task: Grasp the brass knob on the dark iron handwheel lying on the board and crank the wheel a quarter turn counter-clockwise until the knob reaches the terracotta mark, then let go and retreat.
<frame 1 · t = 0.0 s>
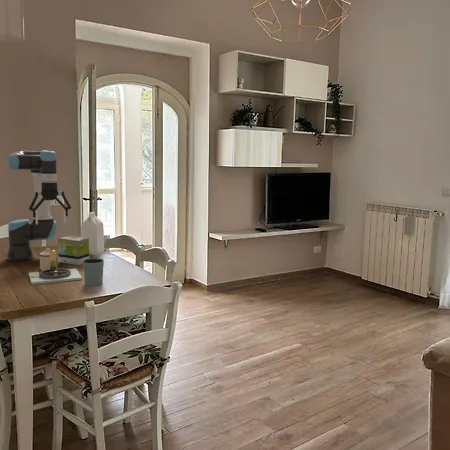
hand: (50, 223, 242), 28 cm above the table, fingers open, 13 cm apart
handwheel: (54, 263, 243), point 7 cm above the table, hinge at 0.0°
milk: (92, 252, 303), on the table
tea box: (74, 262, 277), on the table
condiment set: (49, 268, 261), on the table
grey blue cup: (93, 284, 233), on the table
board: (55, 277, 244), on the table
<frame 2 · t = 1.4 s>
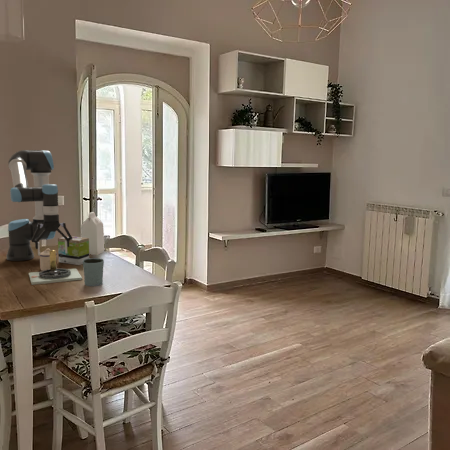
hand: (52, 254, 248), 11 cm above the table, fingers open, 13 cm apart
nothing on the table moved.
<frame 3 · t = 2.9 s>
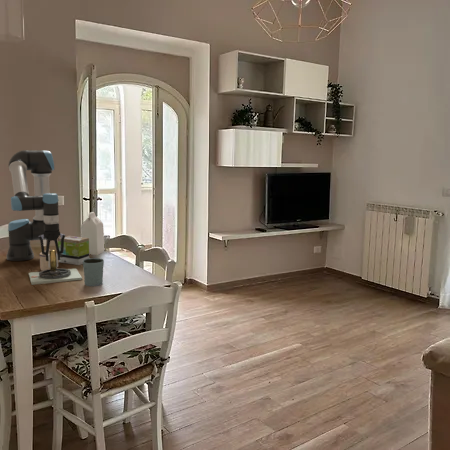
hand: (53, 266, 249), 4 cm above the table, fingers closed on handwheel, 3 cm apart
handwheel: (54, 263, 243), point 7 cm above the table, hinge at 0.0°, touching gripper
everything else where it was.
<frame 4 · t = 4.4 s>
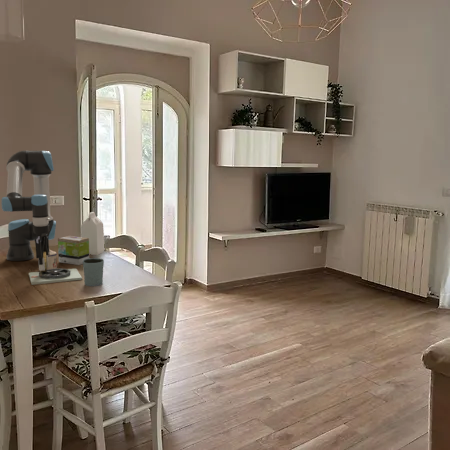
hand: (43, 268, 245), 4 cm above the table, fingers open, 5 cm apart
handwheel: (53, 263, 243), point 7 cm above the table, hinge at 46.5°, touching gripper
everything else where it was.
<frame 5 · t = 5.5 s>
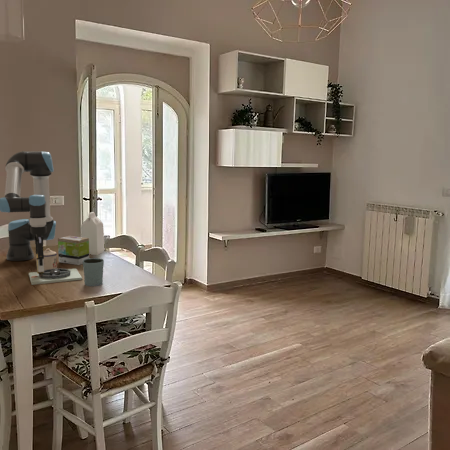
hand: (40, 269, 240), 5 cm above the table, fingers open, 8 cm apart
handwheel: (53, 263, 243), point 7 cm above the table, hinge at 78.3°
everything else where it was.
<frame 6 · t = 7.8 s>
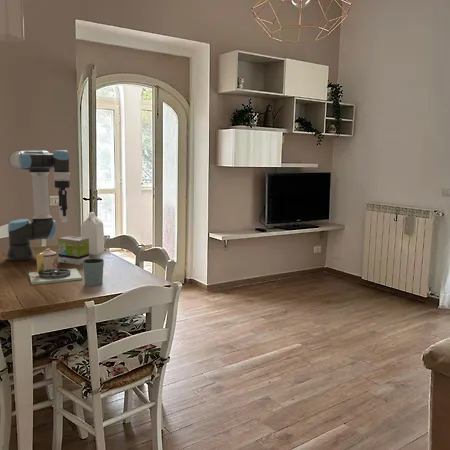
hand: (63, 220, 249), 28 cm above the table, fingers open, 13 cm apart
nothing on the table moved.
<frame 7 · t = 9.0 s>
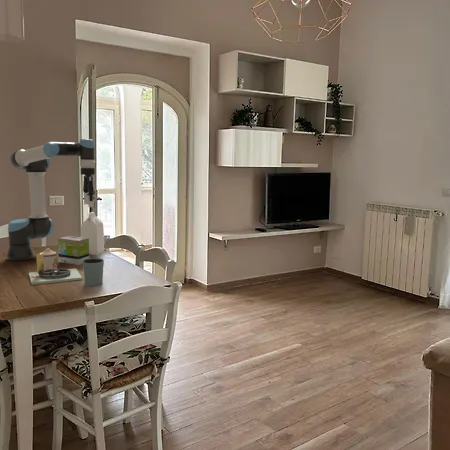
hand: (88, 205, 263), 35 cm above the table, fingers open, 13 cm apart
nothing on the table moved.
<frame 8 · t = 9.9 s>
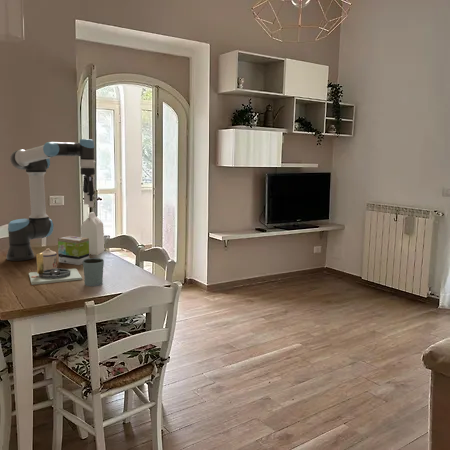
hand: (88, 205, 263), 35 cm above the table, fingers open, 13 cm apart
nothing on the table moved.
at the end: handwheel at +78° (first picture: +0°); the gripper is holding nothing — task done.
